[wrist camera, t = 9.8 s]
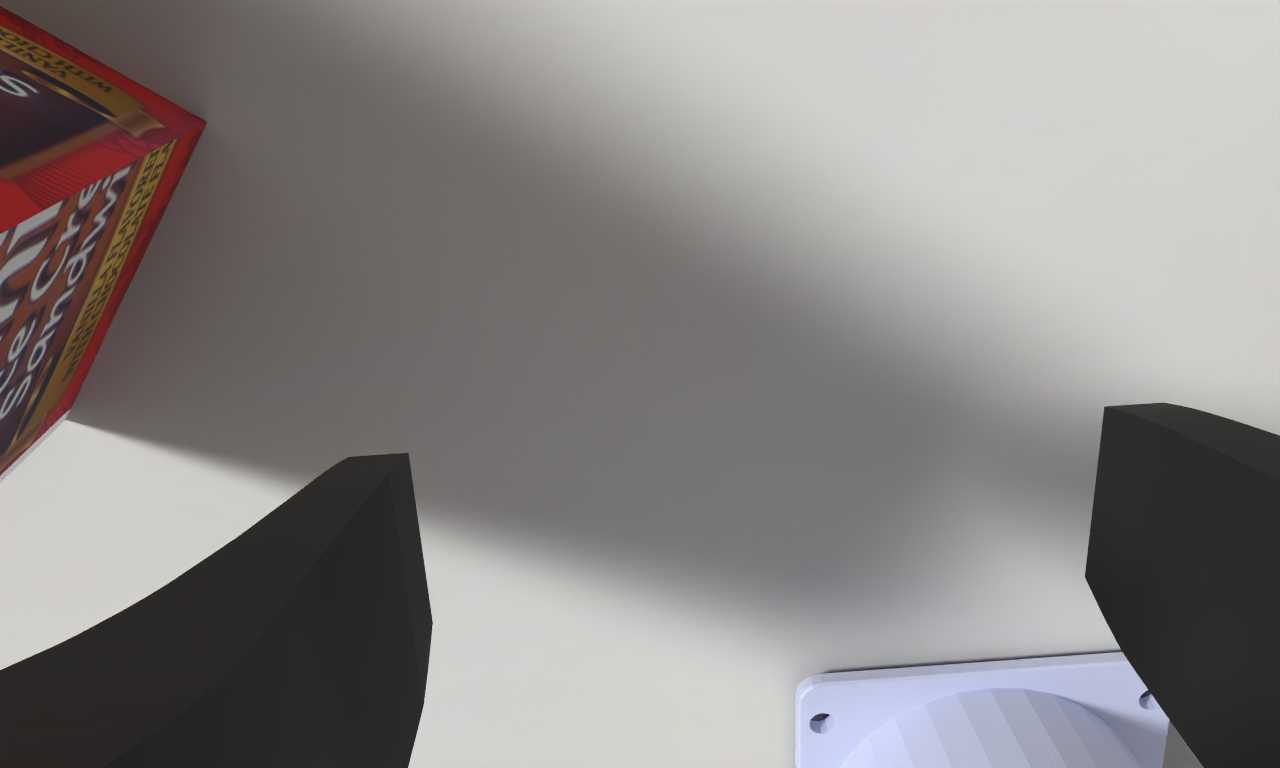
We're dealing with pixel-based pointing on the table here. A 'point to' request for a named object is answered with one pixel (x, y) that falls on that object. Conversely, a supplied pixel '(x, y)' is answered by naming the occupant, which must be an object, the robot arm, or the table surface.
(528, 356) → the table surface
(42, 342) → the ice cream box
